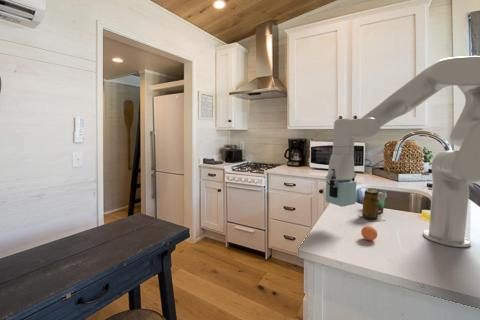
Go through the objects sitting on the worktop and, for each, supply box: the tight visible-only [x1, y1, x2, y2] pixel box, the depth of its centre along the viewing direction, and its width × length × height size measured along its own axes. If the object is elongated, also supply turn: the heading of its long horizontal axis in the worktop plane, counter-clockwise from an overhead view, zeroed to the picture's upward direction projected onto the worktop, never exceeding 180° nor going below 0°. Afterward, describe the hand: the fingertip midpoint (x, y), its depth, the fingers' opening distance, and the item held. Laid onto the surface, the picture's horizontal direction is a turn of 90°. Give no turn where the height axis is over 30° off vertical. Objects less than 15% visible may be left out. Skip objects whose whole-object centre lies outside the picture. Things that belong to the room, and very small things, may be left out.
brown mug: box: [357, 189, 385, 222], centre depth 104 cm, size 7×8×12 cm
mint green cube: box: [325, 179, 357, 208], centre depth 91 cm, size 8×8×9 cm
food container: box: [367, 188, 388, 215], centre depth 113 cm, size 12×6×10 cm, turn 168°
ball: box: [360, 225, 378, 242], centre depth 82 cm, size 5×5×5 cm
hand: (340, 195), depth 92 cm, fingers closed on mint green cube, 7 cm apart
